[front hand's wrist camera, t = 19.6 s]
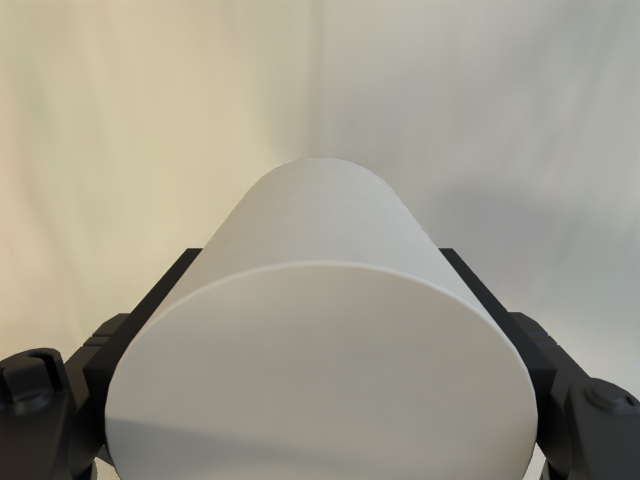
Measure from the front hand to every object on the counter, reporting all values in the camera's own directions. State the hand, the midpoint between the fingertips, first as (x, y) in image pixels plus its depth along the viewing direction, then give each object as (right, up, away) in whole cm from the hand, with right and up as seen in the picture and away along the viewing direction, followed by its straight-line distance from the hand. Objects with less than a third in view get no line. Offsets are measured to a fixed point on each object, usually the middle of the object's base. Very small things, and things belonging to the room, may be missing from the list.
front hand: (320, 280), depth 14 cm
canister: (0, +1, +3) cm, 3 cm away
